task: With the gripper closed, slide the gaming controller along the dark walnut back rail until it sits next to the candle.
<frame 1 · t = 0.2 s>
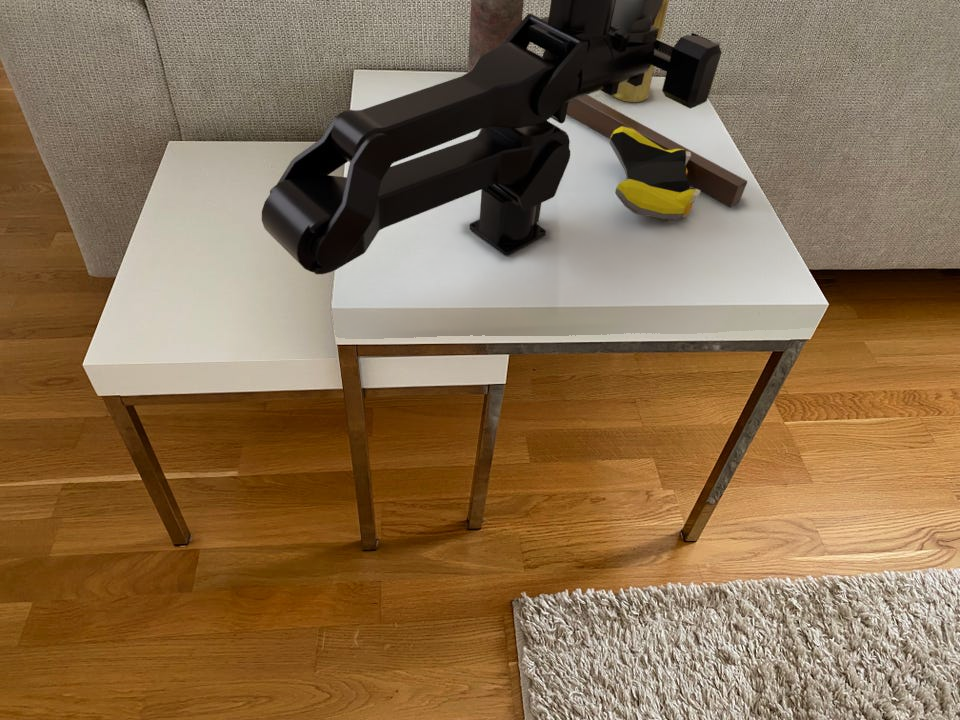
hand: (685, 33, 80), 17 cm above the table, tool horizontal, fingers open, 9 cm apart
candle: (491, 89, 104), on the table
back rail: (630, 145, 95), on the table
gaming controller: (646, 196, 87), on the table
vase: (628, 94, 106), on the table
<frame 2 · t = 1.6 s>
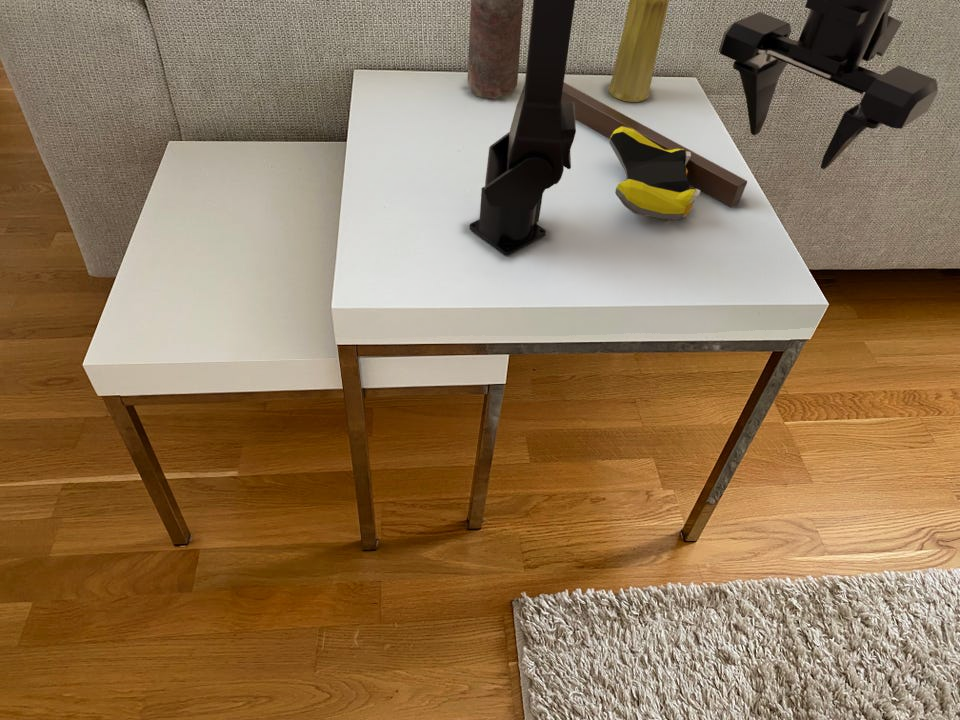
hand: (788, 150, 71), 13 cm above the table, tool pointing down, fingers open, 8 cm apart
nothing on the table moved.
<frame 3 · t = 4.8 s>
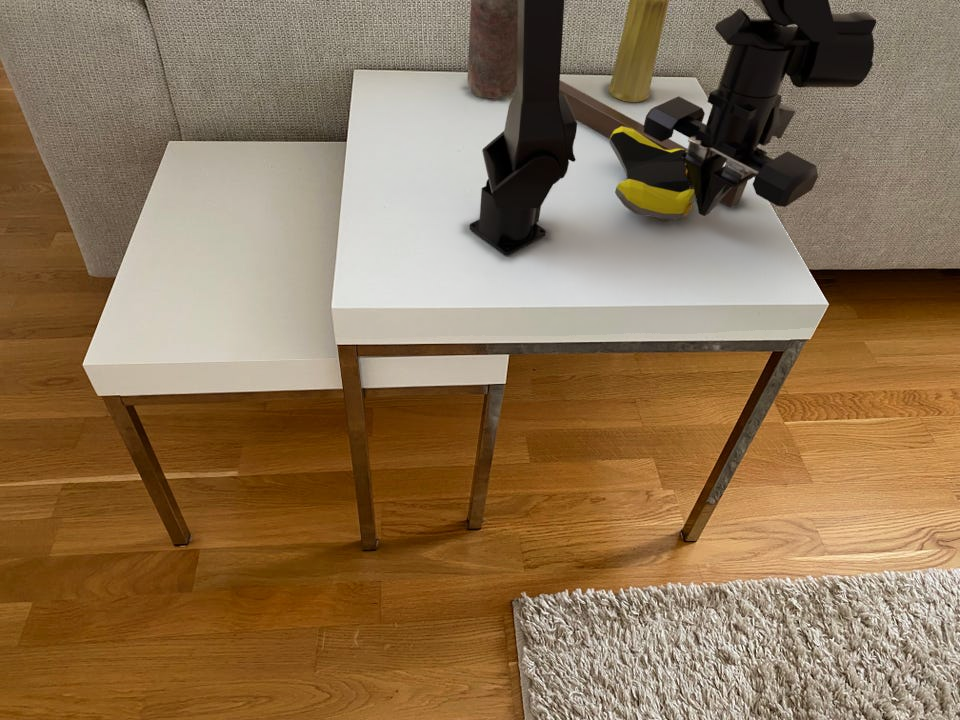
hand: (703, 214, 82), 2 cm above the table, tool pointing down, fingers closed
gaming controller: (646, 196, 87), on the table, touching gripper
everything else where it was.
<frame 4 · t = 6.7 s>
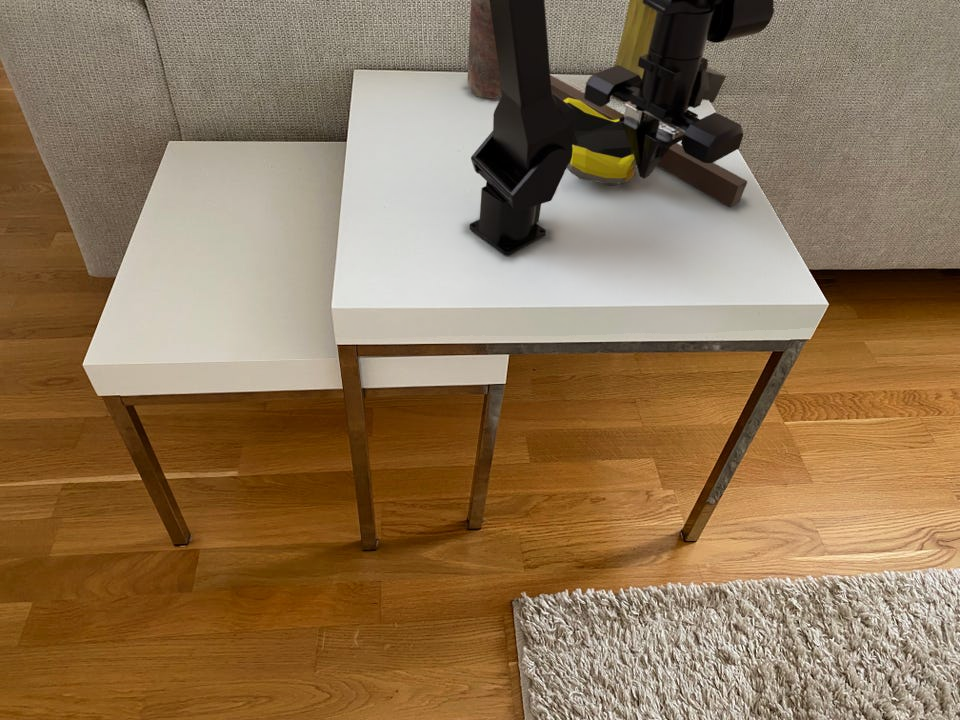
hand: (644, 176, 86), 2 cm above the table, tool pointing down, fingers closed
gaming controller: (592, 164, 92), on the table, touching gripper
everything else where it was.
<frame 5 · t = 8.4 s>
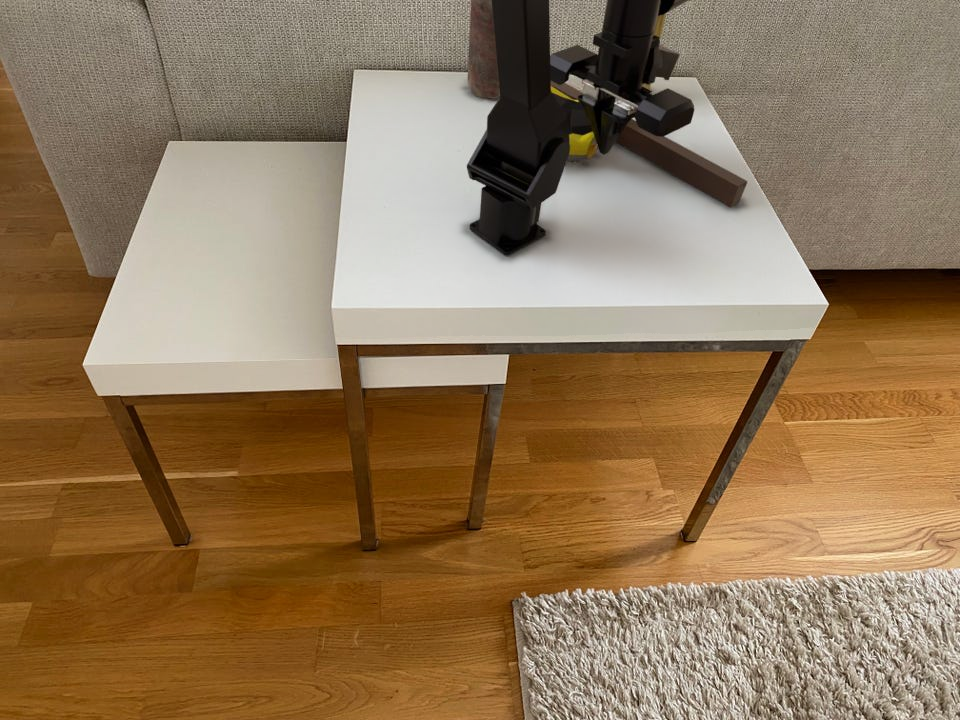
hand: (604, 153, 89), 2 cm above the table, tool pointing down, fingers closed
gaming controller: (556, 143, 95), on the table, touching gripper
everything else where it was.
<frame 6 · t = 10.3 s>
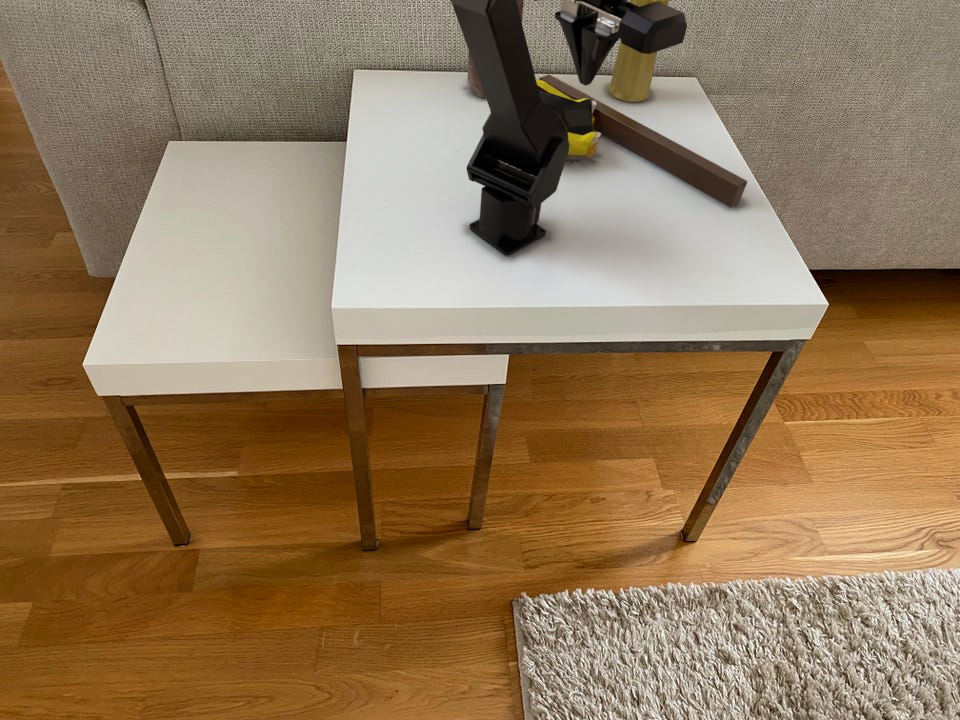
hand: (585, 83, 79), 13 cm above the table, tool pointing down, fingers closed
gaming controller: (556, 142, 95), on the table
everything else where it was.
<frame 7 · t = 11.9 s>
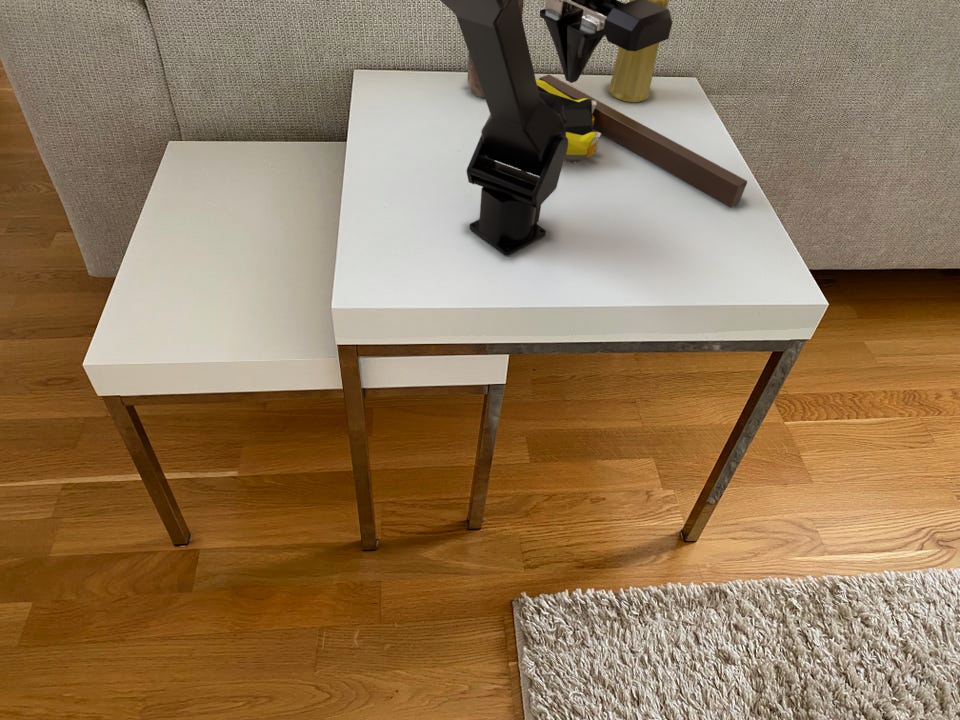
hand: (571, 81, 79), 13 cm above the table, tool pointing down, fingers closed
nothing on the table moved.
at the end: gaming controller inside the target area (2.7 cm from its centre), on the table; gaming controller 16.6 cm from the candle (horizontally); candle moved 0.2 cm from its start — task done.
